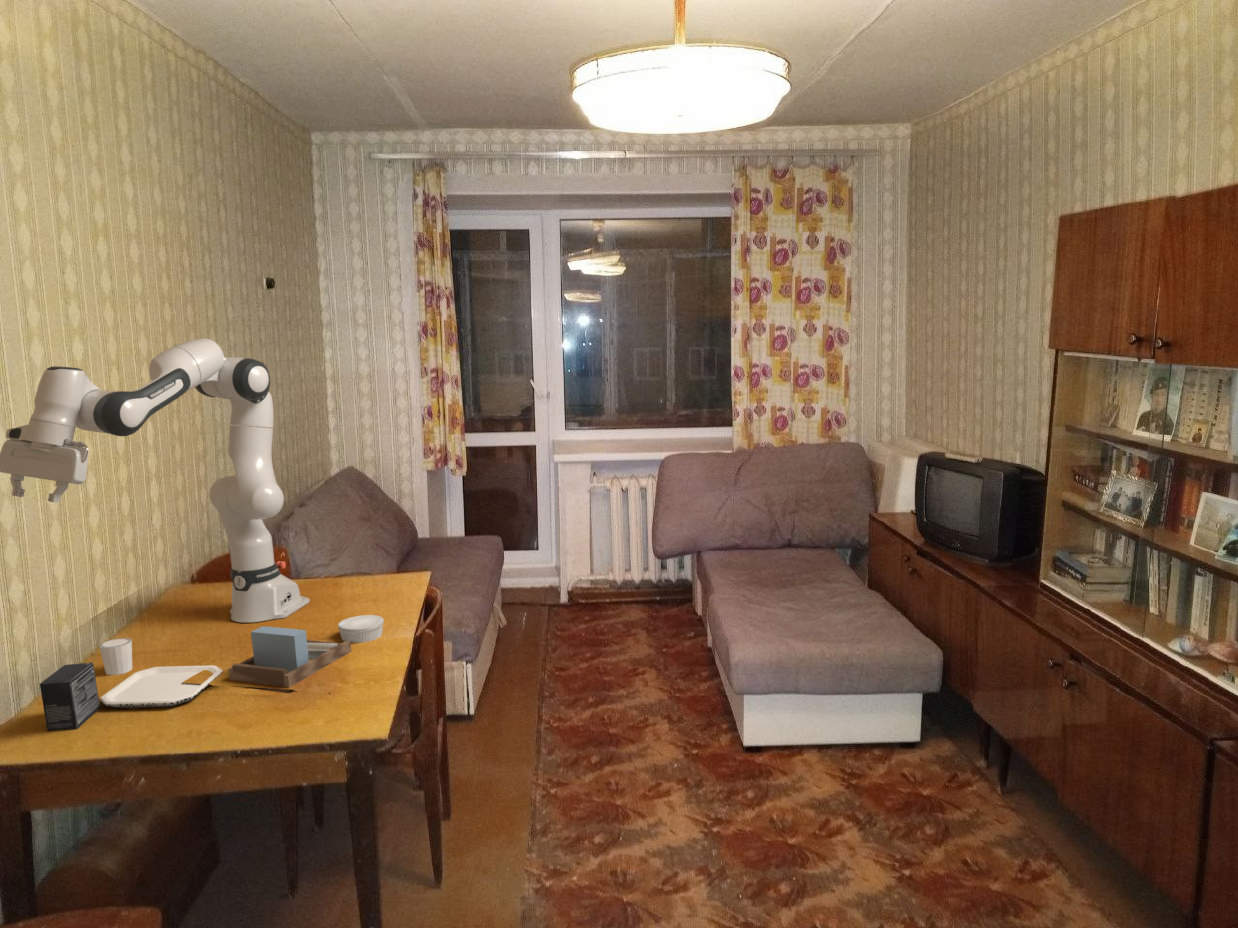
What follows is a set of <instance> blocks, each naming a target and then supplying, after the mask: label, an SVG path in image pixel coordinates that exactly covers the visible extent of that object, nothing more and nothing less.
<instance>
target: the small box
mask: <svg viewBox="0 0 1238 928" xmlns="http://www.w3.org/2000/svg"><path fill="white" fill-rule="evenodd" d="M94 665H95V664H94V662H84V663H83V662H82V663H81V662H80V663H70V664H64V665H62V666H61V667H60V668H59V669H57V670H56V671H55V672H53V673H52V674H51V675H49V676H48V677H47V678H45V679H44V680H43V681H42V682H40V683H39V688H40V694H41V700H42V706H43V707H42V708H43V712H44V713H43V714H44V718H45V719H44V720H45V726H46V727H45V728H46V731H47V732H51V731H52V732H53V731H66V730H67V731H68V730H77V729H79V728H80V727H81V726H82V725H84V724H85V722H86V721H87V720H89V719H90V718H91V717H92V716H93V715H94V714H95V713H97V712H98V711H99V709H101V704H100V702H101V701H100V697H99V693H98V692H99V691H98V685H97V679H96V672H95V666H94Z"/></svg>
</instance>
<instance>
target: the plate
mask: <svg viewBox="0 0 1238 928" xmlns="http://www.w3.org/2000/svg"><path fill="white" fill-rule="evenodd" d="M203 671H208V672H209V673H212V675H210V676H209V677H208V678H207V679H206V680H205V681H203V682H202V683H193V682H192V683H191V682H185V681H187V680H189V679H190V678H192V677H194V676H195V675H197V674H199V673H200V672H203ZM223 672H224V671H223V670H222V668H220V667H218V666H216V665H211V664H210V665H182V666H181V665H176V666H153V667H151V668H146V669H143V670H138V671H136V672H134V673H133V674H131V675H130V676H128V677H127V678H126V679H124V680H123V681H122V682H120V683H118V684H117V685H116V686H114V687H113V688H111V689H110V690H108V691H106V693H104V694H103V695H102V696H100V697H99V702H101V703H102V704H103V705H104V706H106V707H107V706H108V707H110V708H111V707H112V708H115V709H117V708H118V709H122V708H123V709H124V708H127V709H128V708H132V709H133V708H163V707H164V708H167V707H168V708H170V707H174V706H177V705H181V704H185V703H187V702H190V701H191V700H193V699H194V698H195V697H196V696H197V695H199V693H201V692H202V691H203V690H204V689H205V688H207V687H209V685H210V684H211V683H212V682H213V681H215V679H216V678H218V677H219V676H220V675H221V674H222V673H223Z"/></svg>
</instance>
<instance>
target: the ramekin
mask: <svg viewBox="0 0 1238 928" xmlns="http://www.w3.org/2000/svg"><path fill="white" fill-rule="evenodd" d="M384 621H385V620H384V618H383V617H382V616H380V615H376V614H375V615H374V614H365V615H363V614H362V615H356V616H351V617H348V618H346V619H343V620H341V621H340V622H338V624H337V629H338V630H339V635H340V638H341V640H342V641H343V642H345V641H350V642H351V644H352V643H353V644H361V643H367V642H371V641H374V640H376V639H378V638H380V637H382V636H383V628H384V623H385V622H384Z"/></svg>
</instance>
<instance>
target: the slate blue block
mask: <svg viewBox="0 0 1238 928" xmlns="http://www.w3.org/2000/svg"><path fill="white" fill-rule="evenodd" d="M250 635H251V644H252V645H251V647H252V654H253V656H254V665H255V666H264V667H273V668H281V669H287V673H289V672H291V671H293V670H294V669H296V668H298V667H300V666H302V665H303V664H305V663H307V662H309V661H310V659H309V658H308V648H307V640H308V638H307V630H306V629H298V628H297V629H296V628H287V627H276V626H267V625H266V626H264V625H262V626H260V627H257V628H256V629H254V630H252V631H250ZM253 656H252V657H253Z"/></svg>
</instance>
